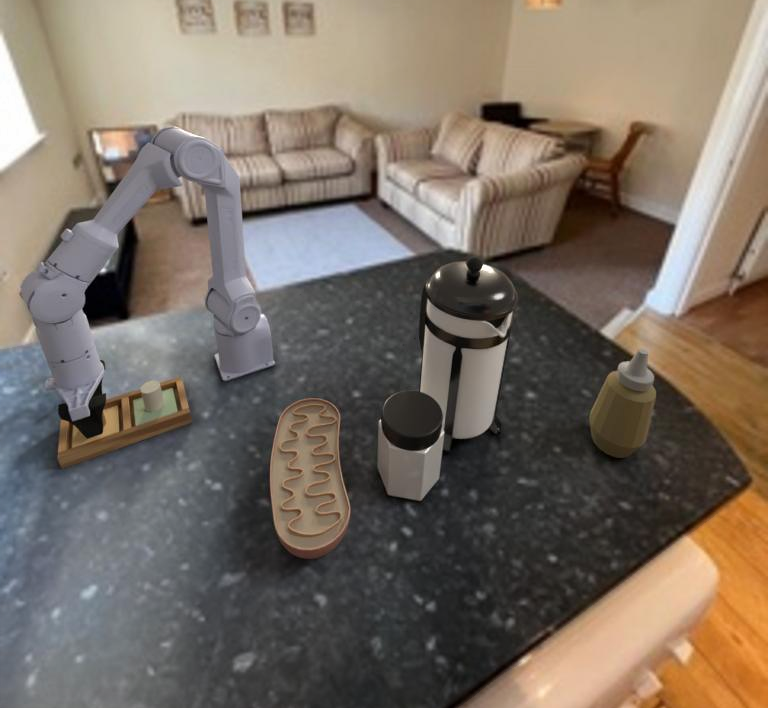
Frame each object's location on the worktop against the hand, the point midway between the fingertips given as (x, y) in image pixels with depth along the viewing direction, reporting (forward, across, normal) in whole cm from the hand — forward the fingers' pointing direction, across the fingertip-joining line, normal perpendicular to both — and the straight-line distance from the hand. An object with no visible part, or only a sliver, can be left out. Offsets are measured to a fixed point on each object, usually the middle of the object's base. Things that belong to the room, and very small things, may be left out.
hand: (94, 421), depth 68 cm
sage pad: (+2, 0, +8) cm, 8 cm away
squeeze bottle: (+3, +40, +69) cm, 80 cm away
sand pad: (+2, 0, 0) cm, 2 cm away
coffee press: (+3, +23, +50) cm, 55 cm away
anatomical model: (+3, +24, +25) cm, 35 cm away
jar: (+3, +29, +38) cm, 48 cm away
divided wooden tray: (+3, 0, +4) cm, 5 cm away
